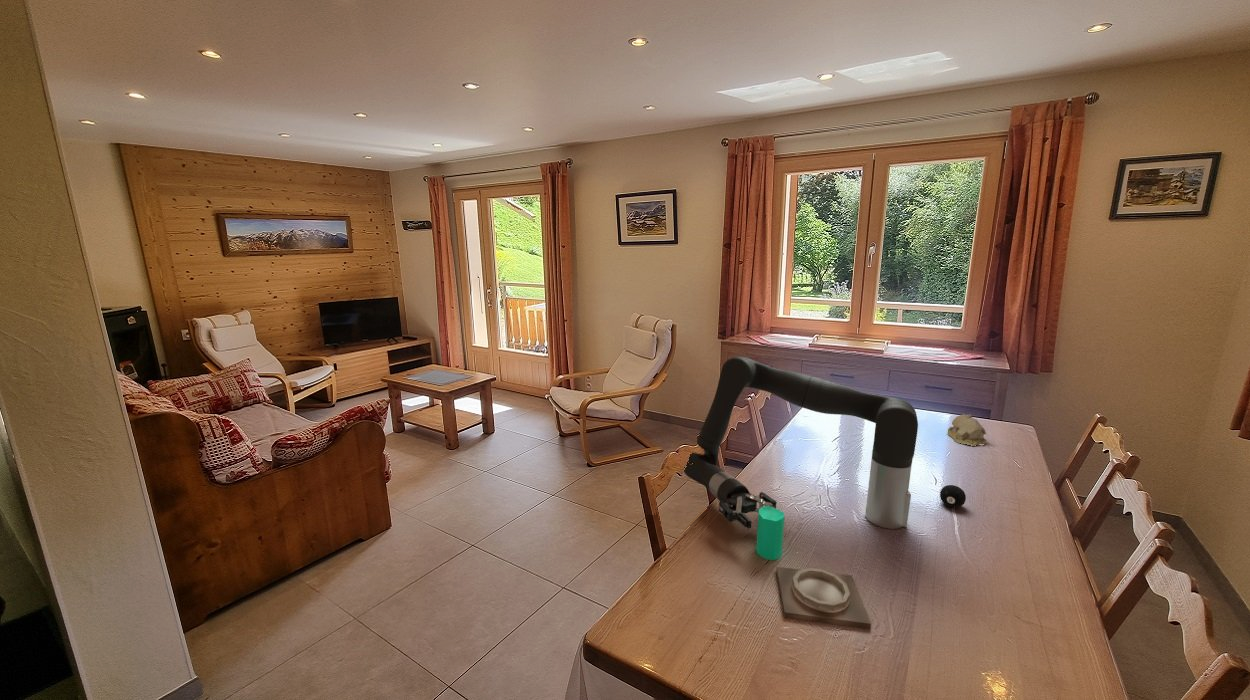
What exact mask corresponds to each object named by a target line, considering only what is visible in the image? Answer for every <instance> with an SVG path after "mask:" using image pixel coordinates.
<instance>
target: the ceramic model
mask: <svg viewBox="0 0 1250 700" xmlns="http://www.w3.org/2000/svg"><path fill="white" fill-rule="evenodd" d="M951 425H952V426H949V428H947V435H948V436H949V437H951V438H952V440H953V441H954V442H956V443H958V444H960V443H961V445H963V444H967V445H972V446H975V445H979V444H985V445H986V444H987V439H986V438H985V437H984V436H985V435H987V432H986V430H985V428H984V427H983V426H982V424H981V423H980V422H979V421H978V419H976V418H974V417H973V416H972V414H970V413H969V414H965V413H963V414H961V415H960V414H959V415H956V417H955V418H954V419H953V420H952V421H951ZM967 445H966V446H967ZM972 446H971V447H972ZM975 447H976V446H975Z"/></svg>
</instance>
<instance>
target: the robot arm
mask: <svg viewBox="0 0 1250 700" xmlns="http://www.w3.org/2000/svg"><path fill="white" fill-rule="evenodd" d="M745 388H750V389H755V390H760V391H763V392H767V393H770V394H772V395H774V396H777V397H778V398H780V399H782V400H784V401H785V402H787V403H790V404H792V405H795V406H796V407H800V408H803V409H806V410H810V411H812V412H815V413H820V414H825V415H838V416H839V415H841V416H842V415H843V416H851V417H857V418H861V419H863V420H866V421H868V422H871V423H874V424H875V426H874V437H873V445H872V451H871V459H870V460H871V462H870V468H869V469H870V470H869V478H868V479H869V480H868V485H867V486H868V489H867V497H866V503H865V506H866V507H865V514H864V515H865V518H866V520H867V521H869V522H870V523H872V524H873V525H875V526H878V527H880V528H883V529H890V530H891V529H892V530H893V529H894V530H896V529H897V530H898V529H901V528H907V527H908V521H909V520H908V519H909V513H910V512H909V511H910V507H911V498H912V497H911V496H912V494H911V492H910V491H909V488H910V480H911V472H912V465H913V460H914V456H915V451H916V445H917V437H918V430H919V420H918V416H917V412H916V410H915V407H913V405H912V404H910V403H909V402H908V401H906V400H904V399H901V398H896V397H892V396H886V395H882V394H881V395H880V394H875V393H870V392H864V391H862V390H858V389H855V388H852V387H849V386H846V385H842V384H839V383H837V382H832V381H829V380H827V379H824V378H820V377H816V376H812V375H809V374H806V373H805V374H804V373H801V372H800V373H799V372H796V371H790V370H786V369H785V370H784V369H779V368H775V367H772V366H769V365H766V364H763V363H761V362H759V361H756V360H754V359H752V358H750V357H746V356H743V355H742V356H741V355H739V356H738V355H737V356H733V357H730V358H728V359H727V360H726V361H724V363H723V365H722V366H721V371H720V376H719V379H718V383H717V388H716V390H715V394H714V398H713V401H712V403H711V406H710V408H709V411H708V413H707V416H706V418H705V420H704V423H703V424H702V426H701V428H700V432H699V434H698V437H697V440H696V443H697V444H696V445H698V447H700V448H701V449H702V450H704V454H702V453H699V452H698V453H697V452H691V453H692V454H690V457H689V461H688V462H689V463H688V462H687V465H686V466H687V467H686V468H685V467H684V468H685V470H684V471H683V473H684V474H685V475H686V476H687V477H688V478H689V479H691V480H693V481H695V482H696V483H699V484H701V485H702V486H704V487H705V488H706V489H707V490H708V491H709V492H710V493H712V495H713V496H714V498H715V499H717V500H718V502H719V503H718V512H719V513H720V514H721V515H722V516H723V517H724V518H725V519H726V520H727V521H728V522H729V523H732V522H733V521H736V522H737V523H740V524H741V526H743V527H745V528H747V529H752V519H750V518H749V517H748V516H747V515H746V514H749V513H753V512H755V513H758V512H759V509H760V508H762V507H765V506H770V507H774V508H776V509H777V500H775V499H774V498H772V497H770V496H769V495H767V493H765V492H763V491H761V492H759V494H758V495H754V494H752V493H751V492H750V490H749V489H748V487H746V486H745V485H744V484H743V483H741V482H740V481H739V480H737V479H736V478H735V477H734V476H732V475H731V474H729V473H728V472H726V471H725V470H723V469H722V468H721V467H719V466H718V458H719V454H720V453H719V452H720V447H721V445H722V443H723V441H724V438H725V435H726V434H727V430H728V427H729V424H730V419H731V417H732V413H733V409H734V408H735V404H736V403H737V400H738V398H739V397H740V395H741V394H742V392H743V391H744V389H745ZM692 463H693V464H692ZM690 464H692V465H690ZM758 505H759V506H758ZM758 507H759V508H758Z"/></svg>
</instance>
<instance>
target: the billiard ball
mask: <svg viewBox="0 0 1250 700" xmlns="http://www.w3.org/2000/svg"><path fill="white" fill-rule="evenodd" d="M939 492H940V493H939V497H940V500H941V502H942V503H943V504H944V505H946V506H948V507H950V508H960V507H962V506H964V504H965V503H966V499H967V495H966V493H965V491H964V490H963V489H962V487H959V486H957V485H954V484H952V485H951V484H947V485H944V486H943V487H942V488H941V490H940V491H939Z"/></svg>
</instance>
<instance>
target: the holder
mask: <svg viewBox="0 0 1250 700" xmlns="http://www.w3.org/2000/svg"><path fill="white" fill-rule="evenodd" d="M775 571H776V577H777V582H778V588H779V594H780V595H779V596H780V600H781V605H782V612H783V617H784V618H786V619H792V620H793V619H794V620H800V621H801V620H802V621H809V622H815V623H821V624H822V623H823V624H829V625H831V624H832V625H836V626H837V625H838V626H844V627H852V628H853V627H854V628H861V629H868V630H871V628H872V621H871V619H870V617H869V615H868V612H867V610H866V607H865V605H864V601H863V600H862V597H861V594H860V592H859V590H858V587H857V585H856V582H855V580H854V577H853V575H851V574H842V573H833V572H829V571H827V570H825V569H822V568H820V569H819V568H815V567H814V568H812V567H808V568H803V569H799V568H789V567H784V566H783V567H781V566H776V570H775Z"/></svg>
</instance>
